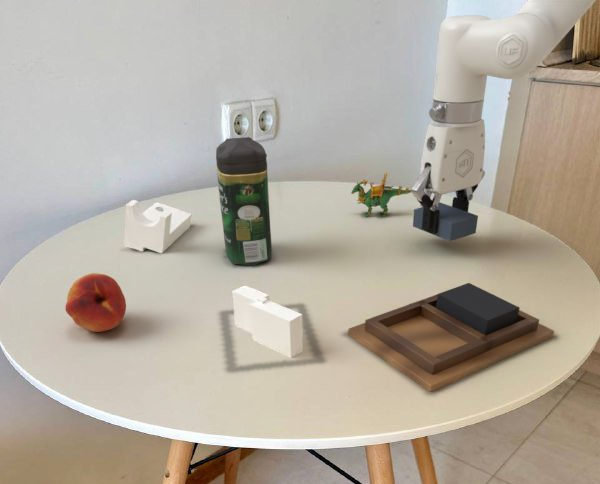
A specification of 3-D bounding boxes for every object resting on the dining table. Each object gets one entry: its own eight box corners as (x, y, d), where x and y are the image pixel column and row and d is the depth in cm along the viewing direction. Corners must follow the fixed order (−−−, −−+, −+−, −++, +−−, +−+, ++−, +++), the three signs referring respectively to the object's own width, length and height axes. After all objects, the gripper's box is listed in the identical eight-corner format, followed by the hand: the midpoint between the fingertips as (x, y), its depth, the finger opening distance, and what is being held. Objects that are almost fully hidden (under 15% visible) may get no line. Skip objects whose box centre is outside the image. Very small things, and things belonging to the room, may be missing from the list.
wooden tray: (347, 335, 80) (348, 318, 78) (464, 292, 89) (466, 277, 88) (430, 392, 69) (432, 375, 68) (552, 337, 79) (557, 320, 77)
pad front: (412, 226, 103) (413, 209, 101) (437, 218, 106) (439, 202, 104) (449, 241, 97) (452, 223, 95) (475, 233, 99) (478, 215, 98)
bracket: (161, 258, 104) (165, 218, 99) (123, 245, 104) (126, 204, 99) (189, 231, 114) (194, 193, 109) (155, 219, 114) (158, 181, 109)
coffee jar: (223, 246, 105) (212, 135, 94) (267, 243, 106) (261, 132, 95) (227, 269, 97) (216, 150, 86) (275, 265, 98) (269, 147, 87)
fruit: (69, 346, 79) (53, 291, 74) (75, 317, 85) (61, 265, 80) (130, 339, 80) (118, 285, 75) (131, 311, 86) (121, 259, 81)
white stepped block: (321, 360, 75) (321, 320, 71) (231, 370, 73) (227, 330, 70) (300, 305, 87) (299, 269, 83) (222, 313, 85) (218, 276, 82)
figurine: (350, 212, 118) (351, 170, 113) (410, 212, 117) (415, 170, 112) (350, 218, 115) (352, 175, 110) (412, 218, 115) (416, 175, 110)
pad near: (434, 313, 82) (437, 293, 80) (465, 301, 85) (468, 282, 83) (483, 340, 76) (487, 320, 74) (515, 327, 79) (520, 307, 77)
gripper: (432, 124, 84) (421, 245, 95) (514, 107, 91) (496, 222, 102) (397, 116, 89) (390, 232, 100) (478, 101, 96) (463, 210, 107)
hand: (444, 226), depth 101 cm, fingers closed on pad front, 6 cm apart
